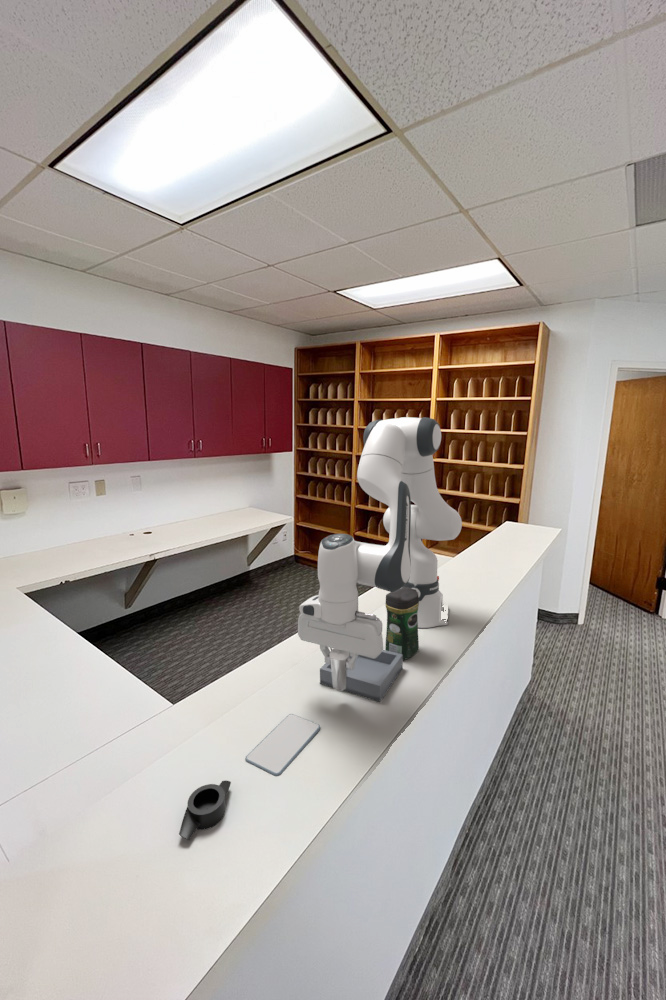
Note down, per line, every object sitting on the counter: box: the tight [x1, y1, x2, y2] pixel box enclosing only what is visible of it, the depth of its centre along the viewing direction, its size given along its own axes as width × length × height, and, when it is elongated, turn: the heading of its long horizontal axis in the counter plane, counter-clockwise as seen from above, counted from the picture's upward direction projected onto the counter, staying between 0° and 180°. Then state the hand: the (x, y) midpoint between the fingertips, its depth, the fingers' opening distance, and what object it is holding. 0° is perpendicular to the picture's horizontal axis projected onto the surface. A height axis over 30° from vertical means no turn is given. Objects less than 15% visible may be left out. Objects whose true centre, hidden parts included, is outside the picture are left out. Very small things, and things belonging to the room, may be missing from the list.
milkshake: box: [329, 647, 350, 691], centre depth 94 cm, size 5×5×10 cm
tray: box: [319, 649, 404, 703], centre depth 106 cm, size 16×16×4 cm
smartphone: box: [244, 713, 321, 777], centre depth 83 cm, size 8×1×15 cm
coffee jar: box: [384, 587, 420, 661], centre depth 116 cm, size 10×8×19 cm
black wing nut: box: [178, 780, 232, 841], centre depth 67 cm, size 8×10×3 cm
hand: (339, 665), depth 94 cm, fingers closed on milkshake, 4 cm apart
